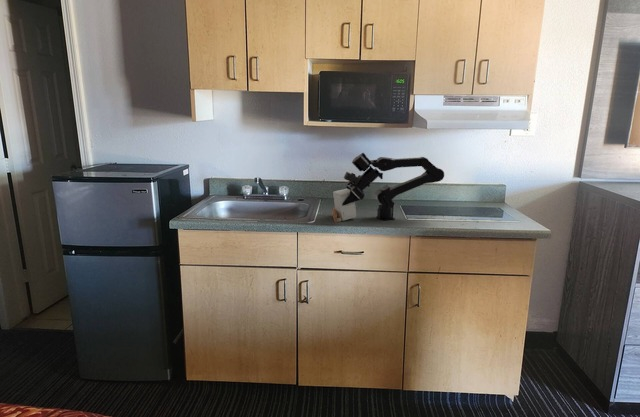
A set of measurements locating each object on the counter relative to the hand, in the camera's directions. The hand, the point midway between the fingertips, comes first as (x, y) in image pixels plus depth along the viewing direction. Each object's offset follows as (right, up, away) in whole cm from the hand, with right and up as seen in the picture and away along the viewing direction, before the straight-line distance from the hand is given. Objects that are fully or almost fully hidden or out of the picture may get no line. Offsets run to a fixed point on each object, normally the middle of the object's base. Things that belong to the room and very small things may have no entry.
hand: (341, 202), depth 194 cm
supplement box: (+2, -7, +2) cm, 8 cm away
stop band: (-2, -7, +2) cm, 8 cm away
